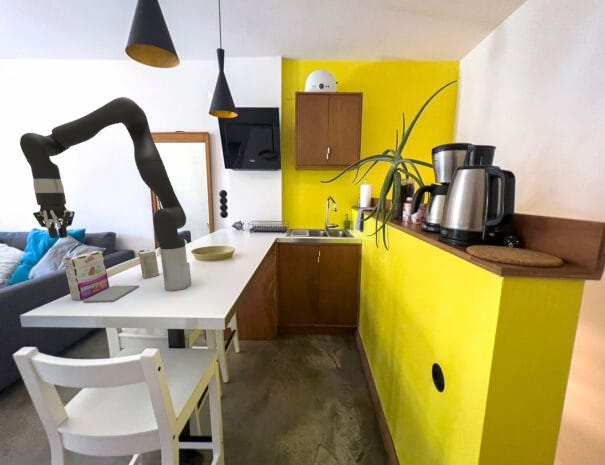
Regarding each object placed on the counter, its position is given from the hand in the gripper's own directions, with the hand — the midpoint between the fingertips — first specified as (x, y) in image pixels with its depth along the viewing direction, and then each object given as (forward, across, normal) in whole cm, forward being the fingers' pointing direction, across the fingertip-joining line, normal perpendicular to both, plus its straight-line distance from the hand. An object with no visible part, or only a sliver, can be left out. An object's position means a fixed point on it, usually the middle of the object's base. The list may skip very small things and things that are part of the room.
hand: (58, 237), depth 90 cm
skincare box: (+23, -20, -20) cm, 36 cm away
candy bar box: (+23, -8, 0) cm, 25 cm away
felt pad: (+23, -18, 0) cm, 29 cm away
